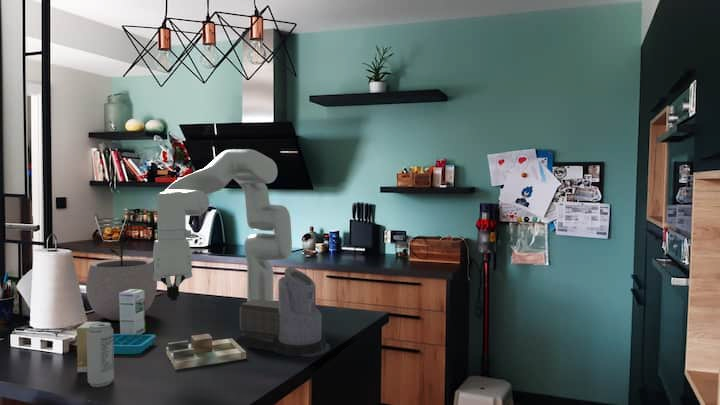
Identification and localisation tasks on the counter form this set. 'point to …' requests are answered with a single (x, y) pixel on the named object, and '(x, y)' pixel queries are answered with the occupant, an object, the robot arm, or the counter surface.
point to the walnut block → (201, 343)
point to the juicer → (285, 319)
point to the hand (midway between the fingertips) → (173, 299)
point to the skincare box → (82, 346)
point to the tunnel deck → (186, 358)
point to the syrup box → (132, 311)
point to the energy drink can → (100, 354)
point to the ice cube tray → (131, 343)
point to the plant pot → (118, 283)
